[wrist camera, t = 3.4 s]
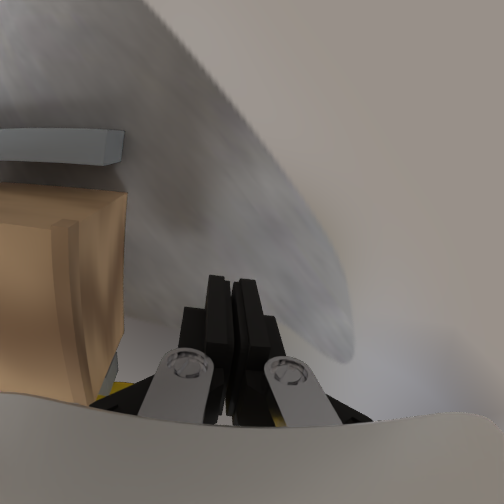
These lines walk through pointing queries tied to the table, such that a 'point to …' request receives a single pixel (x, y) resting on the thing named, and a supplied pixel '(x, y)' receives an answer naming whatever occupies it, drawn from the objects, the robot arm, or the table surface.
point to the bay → (66, 151)
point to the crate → (60, 288)
